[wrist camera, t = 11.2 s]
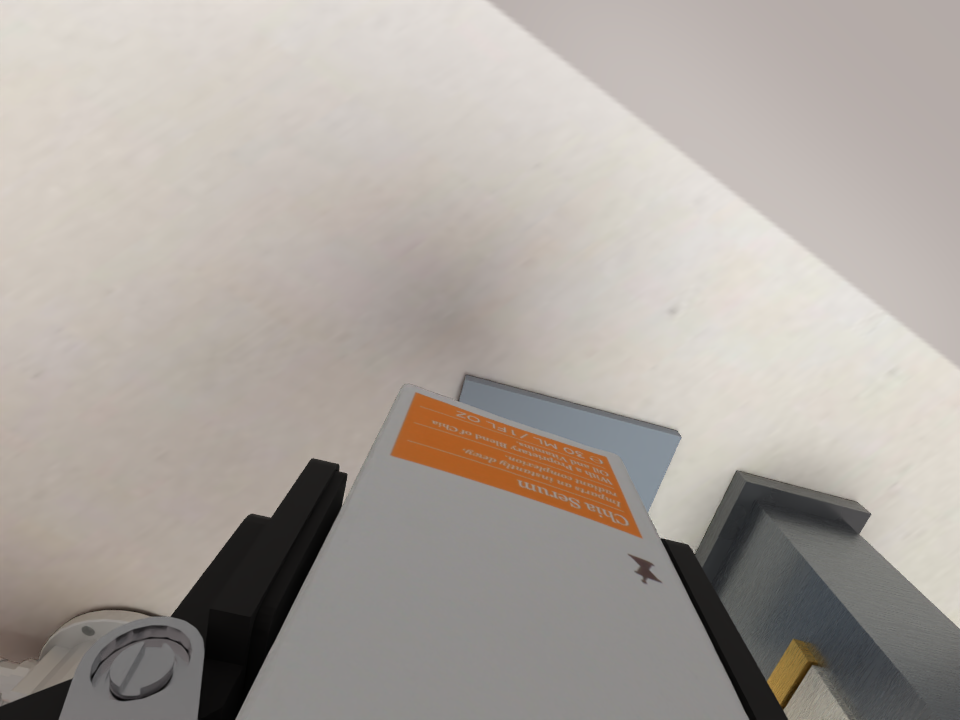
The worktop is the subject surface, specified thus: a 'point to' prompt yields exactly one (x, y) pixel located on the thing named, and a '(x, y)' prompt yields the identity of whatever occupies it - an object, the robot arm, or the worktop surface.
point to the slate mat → (583, 429)
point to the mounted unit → (827, 608)
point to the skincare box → (490, 588)
